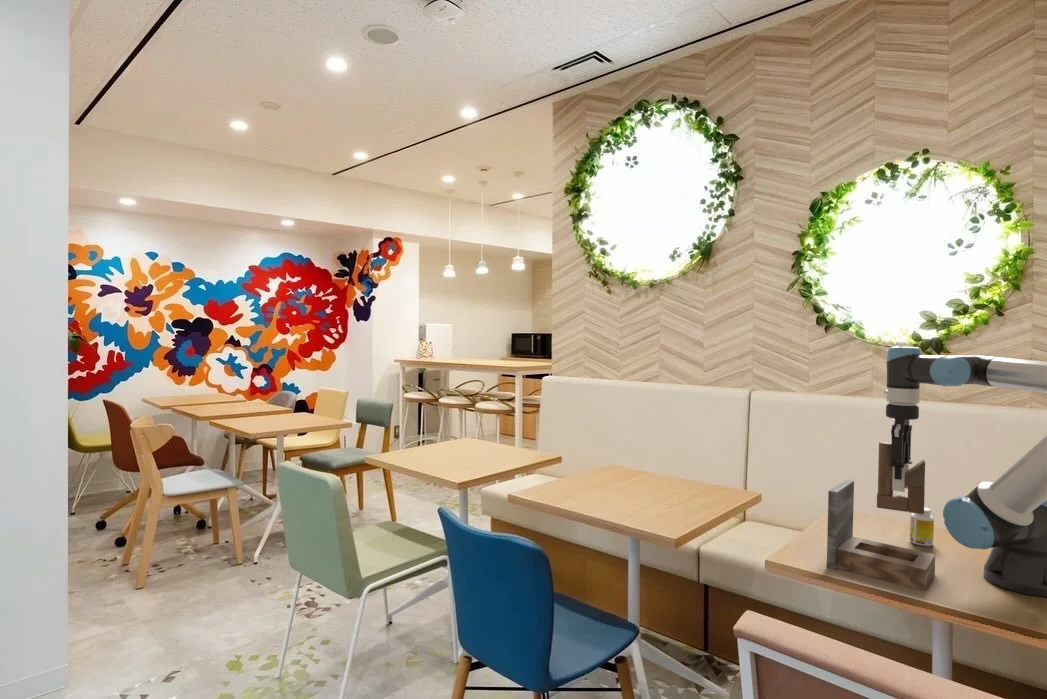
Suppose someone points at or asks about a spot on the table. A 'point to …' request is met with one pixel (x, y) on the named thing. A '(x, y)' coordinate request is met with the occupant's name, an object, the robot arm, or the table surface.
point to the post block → (870, 547)
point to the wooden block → (912, 480)
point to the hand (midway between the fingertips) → (900, 488)
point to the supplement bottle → (922, 528)
